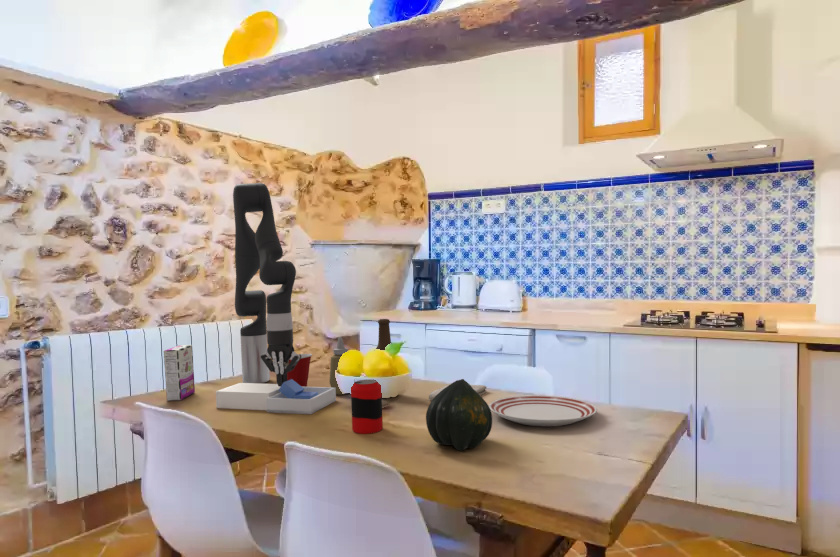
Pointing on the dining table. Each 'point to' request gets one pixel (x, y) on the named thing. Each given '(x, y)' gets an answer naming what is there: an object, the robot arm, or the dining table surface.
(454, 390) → the squash
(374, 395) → the soda can
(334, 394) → the box
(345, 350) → the squeeze bottle
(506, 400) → the dinner plate
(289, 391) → the tile
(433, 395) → the washcloth
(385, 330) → the beer bottle
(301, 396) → the tile
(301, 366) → the plastic cup
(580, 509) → the dining table surface
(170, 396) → the candy bar box
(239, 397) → the white flat block
